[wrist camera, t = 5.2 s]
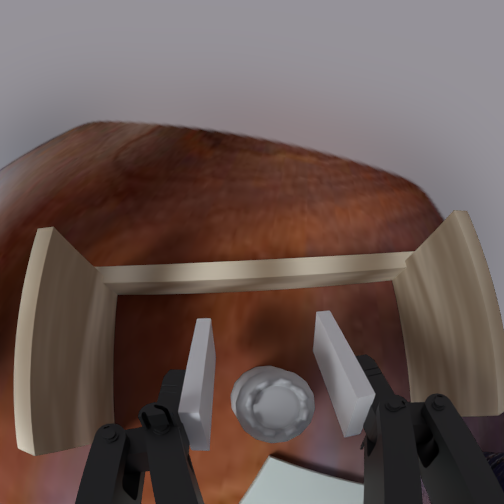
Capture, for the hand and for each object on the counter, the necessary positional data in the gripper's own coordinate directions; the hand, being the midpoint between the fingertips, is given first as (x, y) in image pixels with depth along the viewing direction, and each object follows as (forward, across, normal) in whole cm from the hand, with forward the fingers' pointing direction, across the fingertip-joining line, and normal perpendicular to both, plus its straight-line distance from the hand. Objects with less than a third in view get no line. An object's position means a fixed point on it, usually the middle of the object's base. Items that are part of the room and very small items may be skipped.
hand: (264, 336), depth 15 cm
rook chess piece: (0, 0, -5) cm, 5 cm away
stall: (+2, 0, -3) cm, 3 cm away
